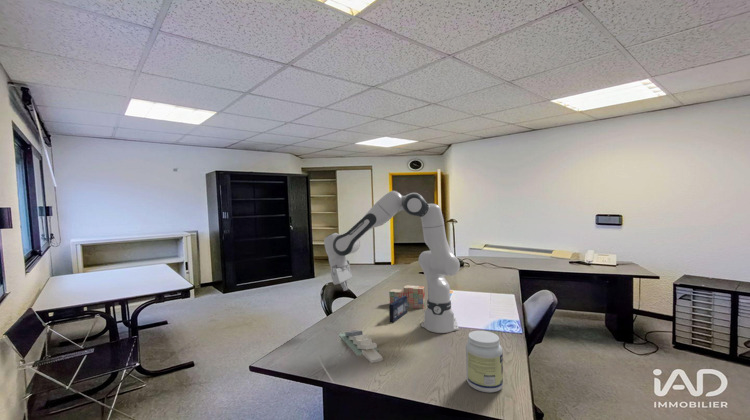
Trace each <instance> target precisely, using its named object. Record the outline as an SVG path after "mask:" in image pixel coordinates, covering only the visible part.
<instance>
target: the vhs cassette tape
mask: <svg viewBox="0 0 750 420" xmlns="http://www.w3.org/2000/svg"><path fill="white" fill-rule="evenodd" d="M388 307H389V310H388V311H389V313H388V314H389V318H388V319H389V323H390V324H391V323H393V324H394V323H396V322H397V321H399V320H400V319H401V318H403V316H405V315H406V314H408V307H407V296H402V297H401V298H399V299H397V300H396V301H394V302H393V303H391V304H390V303H389V305H388Z"/></svg>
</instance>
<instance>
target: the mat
mask: <svg viewBox="0 0 750 420" xmlns="http://www.w3.org/2000/svg"><path fill="white" fill-rule="evenodd" d="M355 331H358V330H356V329H355ZM338 336H339V338H341V339H342V340H343V342H344V343H345V344H346V345H347V346H348V347H349V348H350V349H351V351H353V352H354V354H356V357H358V356H362V355H363V354H362V349H358V348H357V345H355V344H353V340H349V336H346V335H345V332H343V333H338ZM374 349H375V350H376V351H377V352H378V351H379V349H378V348H377V347H375V348H374Z"/></svg>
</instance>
